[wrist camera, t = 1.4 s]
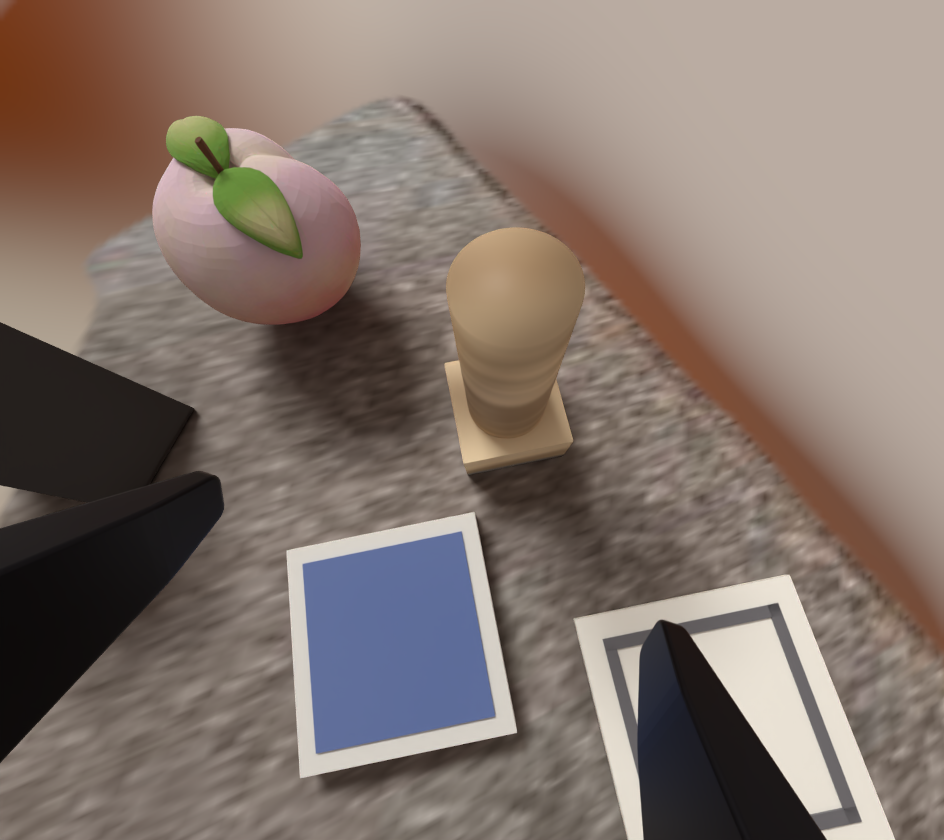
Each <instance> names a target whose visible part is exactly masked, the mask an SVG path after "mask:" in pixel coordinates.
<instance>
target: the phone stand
mask: <svg viewBox="0 0 944 840" xmlns="http://www.w3.org/2000/svg"><path fill="white" fill-rule="evenodd" d="M193 410H194V408H192V407H190V406H188V405H185V404H183V403H181V402H179V401H176V400H174V399H172V398H169V397H167V396H165V395H163V394H160V393H158V392H156V391H154V390H151V389H149V388H147V387H145V386H142V385H140V384H138V383H136V382H133V381H131V380H129V379H127V378H124V377H122V376H120V375H118V374H115V373H113V372H111V371H109V370H106V369H104V368H102V367H100V366H97V365H95V364H93V363H91V362H88V361H86V360H84V359H82V358H79V357H77V356H75V355H73V354H70V353H68V352H66V351H63V350H61V349H59V348H57V347H55V346H52V345H50V344H48V343H46V342H43V341H41V340H39V339H37V338H34V337H32V336H30V335H27V334H25V333H23V332H21V331H19V330H16V329H14V328H12V327H10V326H7V325H5V324H3V323H1V322H0V485H2V486H7V487H12V488H17V489H22V490H27V491H32V492H37V493H42V494H48V495H53V496H58V497H63V498H68V499H73V500H78V501H83V502H93V501H96V500H100V499H103V498H106V497H110V496H113V495H117V494H120V493H124V492H127V491H130V490H134V489H137V488H141V487H144V486H148V485H150V483H151V481H152V480H153V478H154V476H155V474H156V473H157V471H158V469H159V468H160V466H161V464H162V463H163V461H164V459H165V457H166V456H167V454H168V452H169V451H170V449H171V447H172V446H173V444H174V442H175V440H176V439H177V437H178V435H179V434H180V432H181V430H182V429H183V427H184V425H185V423H186V422H187V420H188V418H189V417H190V415H191V413H192V412H193Z"/></svg>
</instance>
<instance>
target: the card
mask: <svg viewBox="0 0 944 840" xmlns="http://www.w3.org/2000/svg"><path fill="white" fill-rule="evenodd" d="M573 619H574V623H575V627H576V632H577V636H578V640H579V644H580V648H581V652H582V656H583V660H584V664H585V668H586V672H587V676H588V680H589V685H590V689H591V693H592V697H593V701H594V705H595V709H596V713H597V717H598V721H599V725H600V729H601V733H602V737H603V742H604V746H605V750H606V754H607V758H608V762H609V766H610V770H611V774H612V778H613V782H614V786H615V790H616V795H617V799H618V803H619V807H620V811H621V815H622V819H623V823H624V827H625V831H626V835H627V839H628V840H643V826H642V813H641V800H640V786H639V773H638V757H637V725H638V689H639V657H640V651H641V648H642V645H643V643H644V642H645V640H646V638H647V637H648V635H649V633H650V632H651V630H652V629H653V627H654V625H655V624H656V622H657V621H659V620H666V621H669V622H672V623H676V624H679V625H681V626H683V627H684V628H685V629H686V630H687V631H688V633H689V634H690V636H691V637H692V639H693V640H694V642H695V643H696V645H697V646H698V648H699V649H700V651H701V652H702V654H703V655H704V657H705V658H706V660H707V661H708V663H709V664H710V666H711V667H712V669H713V670H714V672H715V673H716V675H717V676H718V678H719V679H720V681H721V682H722V684H723V685H724V687H725V688H726V690H727V691H728V693H729V694H730V696H731V697H732V698H733V700H734V701H735V703H736V704H737V706H738V707H739V709H740V710H741V712H742V713H743V715H744V716H745V718H746V719H747V721H748V722H749V724H750V725H751V727H752V728H753V730H754V731H755V733H756V734H757V736H758V737H759V739H760V740H761V742H762V743H763V745H764V746H765V748H766V749H767V751H768V752H769V754H770V755H771V757H772V758H773V760H774V761H775V763H776V764H777V766H778V767H779V769H780V770H781V772H782V773H783V775H784V776H785V778H786V779H787V781H788V782H789V784H790V785H791V787H792V788H793V790H794V791H795V793H796V794H797V796H798V797H799V799H800V800H801V802H802V803H803V805H804V806H805V808H806V809H807V811H808V812H809V813H810V815H811V816H812V818H813V819H814V821H815V822H816V824H817V825H818V827H819V828H820V830H821V831H822V833H823V834H824V836H825V837H826V839H827V840H895V838H894V836H893V833H892V831H891V828H890V826H889V823H888V821H887V818H886V816H885V813H884V811H883V808H882V806H881V803H880V801H879V798H878V796H877V793H876V791H875V788H874V786H873V783H872V781H871V778H870V776H869V773H868V771H867V768H866V766H865V763H864V760H863V758H862V755H861V753H860V750H859V748H858V745H857V743H856V740H855V738H854V735H853V733H852V730H851V728H850V725H849V723H848V720H847V718H846V715H845V713H844V710H843V708H842V705H841V703H840V700H839V698H838V695H837V693H836V690H835V688H834V685H833V683H832V680H831V678H830V675H829V673H828V670H827V668H826V665H825V663H824V660H823V658H822V655H821V653H820V650H819V648H818V645H817V643H816V640H815V638H814V635H813V632H812V630H811V627H810V625H809V622H808V620H807V617H806V615H805V612H804V610H803V607H802V605H801V602H800V600H799V597H798V595H797V592H796V590H795V587H794V585H793V582H792V580H791V577H790V575H781V576H776V577H771V578H767V579H762V580H757V581H752V582H747V583H742V584H738V585H733V586H728V587H723V588H718V589H713V590H709V591H704V592H699V593H694V594H689V595H684V596H680V597H675V598H670V599H665V600H660V601H656V602H651V603H646V604H641V605H636V606H631V607H627V608H622V609H617V610H612V611H607V612H602V613H598V614H593V615H588V616H583V617H578V618H573Z"/></svg>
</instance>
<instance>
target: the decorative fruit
mask: <svg viewBox="0 0 944 840" xmlns="http://www.w3.org/2000/svg"><path fill="white" fill-rule="evenodd" d="M166 145H167V149H168V151H169V153H170V154H171V156H173V157H174V158H173V160H172V161H171V163H170V164H169V166H168V168H167V169H166V171H165V173H164V175H163V176H162V178H161V180H160V182H159V184H158V187H157V190H156V193H155V197H154V201H153V215H152V216H153V225H154V231H155V235H156V238H157V242H158V244H159V247H160V249H161V251H162V254H163V256H164V257H165V259H166V261H167V263H168V264H169V266H170V267H171V269H172V270H173V272H174V273H175V274H176V275H177V277H178V278H179V279H180V280H181V281H182V282H183V283H184V284H185V285H186V287H188V288H189V289H190V290H191V291H192V292H193V293H194V294H195V295H196V296H197V297H199V298H200V299H201V300H202V301H204V302H205V303H206V304H208V305H209V306H211V307H212V308H214V309H215V310H217V311H219V312H221V313H223V314H225V315H227V316H230V317H232V318H235V319H238V320H242V321H245V322H250V323H256V324H269V325H277V324H287V323H295V322H300V321H304V320H307V319H310V318H313V317H316V316H318V315H320V314H322V313H323V312H325V311H326V310H328V309H330V308H331V307H332V306H334V305H335V304H336V303H337V302H338V301H339V300H340V299H341V298H342V297H343V296H344V295H345V294H346V292H347V291H348V289H349V288H350V286H351V284H352V282H353V280H354V278H355V275H356V272H357V269H358V265H359V260H360V247H361V243H360V230H359V226H358V223H357V219H356V215H355V213H354V211H353V209H352V206H351V205H350V203H349V201H348V199H347V198H346V197H345V195H344V194H343V193H342V191H341V190H340V189H339V188H338V187H337V186H336V185H335V184H334V183H333V182H332V181H331V180H329V179H328V178H327V177H325V176H324V175H323V174H321V173H320V172H318V171H317V170H315V169H314V168H312V167H311V166H309V165H306V164H304V163H302V162H299V161H296V160H295V159H294V158H293V157H292V156H291V155H290V154H289V153H288V152H287V151H286V150H284V149H283V148H282V147H281V146H280V145H278V144H276V143H275V142H274V141H272V140H270V139H269V138H267V137H265V136H264V135H261V134H259V133H256V132H253V131H250V130H247V129H237V128H227V129H224V128H223V127H222V125H220V124H219V123H217V122H216V121H214V120H211V119H209V118H206V117H202V116H191V117H187V118H185V119H183V120H177V121H175V122H174V123H173V124H172V125H171V126H170V128H169V130H168V133H167V136H166Z"/></svg>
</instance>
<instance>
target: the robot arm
mask: <svg viewBox="0 0 944 840" xmlns="http://www.w3.org/2000/svg"><path fill="white" fill-rule="evenodd" d="M223 510H224V501H223V494H222V488H221V482H220V479H219V478H218V477H217V476H215V475H212V474H209V473H206V472H203V471H196V472H192V473H189V474H185V475H182V476H178V477H175V478H171V479H168V480H165V481H161V482H158V483H154V484H151V485H148V486H144V487H141V488H137V489H134V490H130V491H127V492H124V493H120V494H117V495H113V496H110V497H106V498H103V499H100V500H96V501H93V502H89V503H86V504H83V505H79V506H76V507H72V508H69V509H65V510H62V511H59V512H55V513H52V514H48V515H45V516H41V517H38V518H35V519H31V520H28V521H24V522H21V523H17V524H14V525H11V526H7V527H4V528H0V763H1V762H2V761H3V759H4V758H5V757H6V756H7V755H8V754H9V753H10V752H11V751H12V750H13V749H14V748H15V747H16V746H17V745H18V743H19V742H20V741H21V740H22V739H23V738H24V737H25V736H26V735H27V734H28V733H29V732H30V731H31V730H32V728H33V727H34V726H35V725H36V724H37V723H38V722H39V721H40V720H41V719H42V718H43V717H44V716H45V715H46V714H47V712H48V711H49V710H50V709H51V708H52V707H53V706H54V705H55V704H56V703H57V702H58V701H59V700H60V699H61V697H62V696H63V695H64V694H65V693H66V692H67V691H68V690H69V689H70V688H71V687H72V686H73V685H74V684H75V682H76V681H77V680H78V679H79V678H80V677H81V676H82V675H83V674H84V673H85V672H86V671H87V670H88V669H89V668H90V666H91V665H92V664H93V663H94V662H95V661H96V660H97V659H98V658H99V657H100V656H101V655H102V654H103V653H104V651H105V650H106V649H107V648H108V647H109V646H110V645H111V644H112V643H113V642H114V641H115V640H116V639H117V638H118V636H119V635H120V634H121V633H122V632H123V631H124V630H125V629H126V628H127V627H128V626H129V625H130V624H131V623H132V622H133V620H134V619H135V618H136V617H137V616H138V615H139V614H140V613H141V612H142V611H143V610H144V609H145V608H146V607H147V605H148V604H149V603H150V602H151V601H152V600H153V599H154V598H155V597H156V596H157V595H158V594H159V593H160V592H161V590H162V589H163V588H164V587H165V586H166V585H167V584H168V583H169V582H170V580H171V579H172V578H173V577H174V576H175V574H176V573H177V572H178V571H179V570H180V568H181V567H182V566H183V564H184V563H185V562H186V561H187V559H188V558H189V557H190V556H191V554H192V553H193V552H194V550H195V549H196V548H197V547H198V545H199V544H200V543H201V541H202V540H203V539H204V538H205V536H206V535H207V534H208V532H209V531H210V530H211V529H212V527H213V526H214V525H215V523H216V522H217V521H218V520H219V518H220V517H221V515H222V513H223ZM637 757H638V773H639V786H640V800H641V813H642V826H643V840H827V839H826V837H825V836H824V834H823V833H822V831H821V830H820V828H819V827H818V825H817V824H816V822H815V821H814V819H813V818H812V816H811V815H810V813H809V812H808V811H807V809H806V808H805V806H804V805H803V803H802V802H801V800H800V799H799V797H798V796H797V794H796V793H795V791H794V790H793V788H792V787H791V785H790V784H789V782H788V781H787V779H786V778H785V776H784V775H783V773H782V772H781V770H780V769H779V767H778V766H777V764H776V763H775V761H774V760H773V758H772V757H771V755H770V754H769V752H768V751H767V749H766V748H765V746H764V745H763V743H762V742H761V740H760V739H759V737H758V736H757V734H756V733H755V731H754V730H753V728H752V727H751V725H750V724H749V722H748V721H747V719H746V718H745V716H744V715H743V713H742V712H741V710H740V709H739V707H738V706H737V704H736V703H735V701H734V700H733V698H732V697H731V696H730V694H729V693H728V691H727V690H726V688H725V687H724V685H723V684H722V682H721V681H720V679H719V678H718V676H717V675H716V673H715V672H714V670H713V669H712V667H711V666H710V664H709V663H708V661H707V660H706V658H705V657H704V655H703V654H702V652H701V651H700V649H699V648H698V646H697V645H696V643H695V642H694V640H693V639H692V637H691V636H690V634H689V633H688V631H687V630H686V629H685V628H684V627H683V626H681V625H679V624H676V623H672V622H669V621H666V620H659V621H657V622H656V624H655V625H654V627H653V629H652V630H651V632H650V633H649V635H648V637H647V638H646V640H645V642H644V643H643V645H642V648H641V651H640V657H639V689H638V725H637Z"/></svg>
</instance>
